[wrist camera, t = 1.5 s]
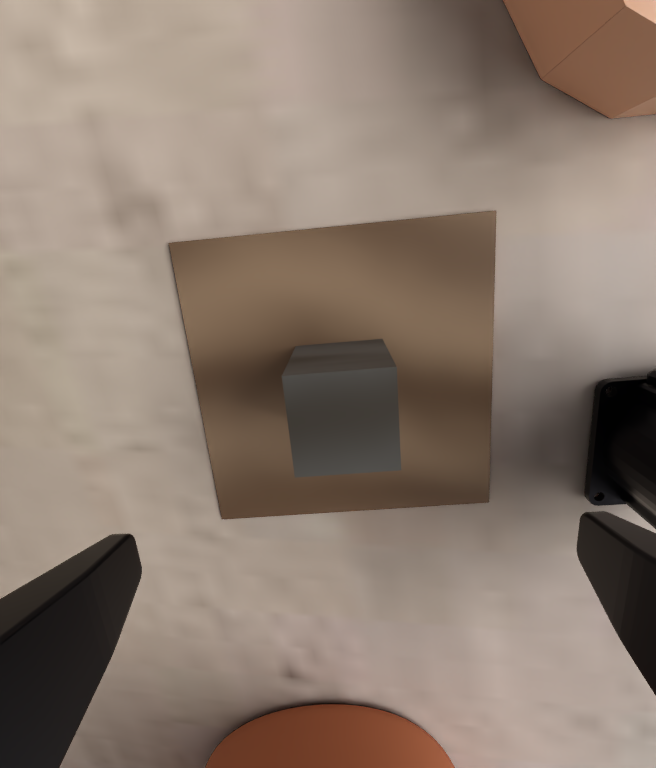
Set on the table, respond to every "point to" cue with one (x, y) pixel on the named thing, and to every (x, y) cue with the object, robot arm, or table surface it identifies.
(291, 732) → the potted cactus
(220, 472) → the lid
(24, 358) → the table surface
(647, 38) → the bowl
